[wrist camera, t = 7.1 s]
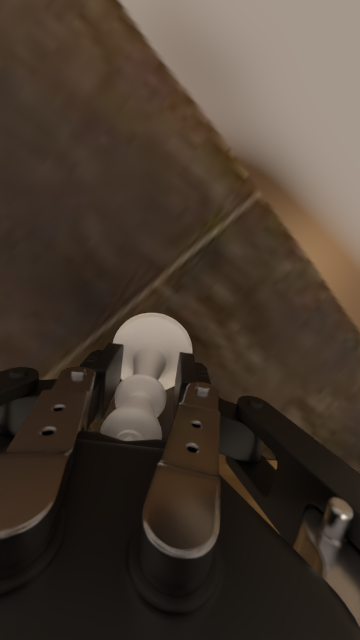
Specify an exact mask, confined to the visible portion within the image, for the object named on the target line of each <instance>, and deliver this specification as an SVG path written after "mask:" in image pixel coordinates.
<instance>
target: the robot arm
mask: <svg viewBox="0 0 360 640" xmlns="http://www.w3.org/2000/svg"><path fill="white" fill-rule="evenodd" d="M123 350H124V345H123V344H117V343H109V344H108V345H107V346H106V348H105V349H104V350H97V351H94V352H92V353H90V355H89V356H88V357H87V358H86V359H85V360H84V361H83V362H82V363H81V364H80V366H79V367H71V368H67V369H65V370H63V371H62V372H61V373H60V375H59V377H58V378H57V379H52V380H39V373H38V371H37V370H35V369H33V368H27V367H18V368H11V369H7V370H4V371H1V372H0V640H360V474H359V473H358V472H357V471H355V470H354V469H353V468H351V467H350V466H349V465H348V464H346V463H345V462H344V461H342V460H341V459H340V458H338V457H337V456H336V455H335V454H333V453H332V452H331V451H329V450H328V449H327V448H326V447H324V446H323V445H322V444H320V443H319V442H318V441H316V440H315V439H314V438H313V437H311V436H310V435H309V434H307V433H306V432H305V431H303V430H302V429H301V428H300V427H298V426H297V425H296V424H294V423H293V422H292V421H291V420H289V419H288V418H287V417H285V416H284V415H283V414H281V413H280V412H279V411H278V410H276V409H275V408H274V407H272V406H271V405H270V404H269V403H267V402H266V401H264V400H262V399H260V398H257V397H253V396H242V397H240V398H239V399H238V401H237V404H234V403H231V402H228V401H225V400H223V399H221V398H219V391H218V389H217V388H216V387H214V386H212V385H211V382H210V379H209V375H208V372H207V368H206V367H205V366H204V365H203V364H202V363H195V362H194V357H193V354H191V353H184V352H180V353H179V359H178V365H177V372H176V378H175V386H174V421H173V424H172V427H171V430H170V433H169V436H168V439H167V440H159V439H152V440H136V441H124V440H120V439H117V438H114V437H111V436H107V435H104V434H101V433H98V432H91V425H92V422H93V420H94V419H95V420H102V419H103V417H104V415H105V412H106V410H107V408H108V406H109V404H110V402H111V399H112V397H113V395H114V393H115V391H116V388H117V386H118V384H119V381H120V377H121V370H122V360H123ZM264 444H265V445H266V446H267V447H268V448H270V449H271V450H272V452H273V453H274V455H275V457H276V460H277V469H275V468H274V467H273V466H272V465H271V464H270V463H269V462H268V461H267V460H266V459H265V458H264V456H263V455H262V451H263V447H264ZM219 454H222V455H225V456H226V457H225V460H226V463H227V465H228V466H229V468H230V469H231V470H232V471H233V473H234V474H235V475H236V477H237V478H238V479H239V481H240V482H241V483H242V485H243V486H244V487H245V489H246V490H247V491H248V493H249V494H250V495H251V497H252V498H253V499H254V501H255V502H256V503H257V505H258V506H259V507H260V508H261V510H262V511H263V512H264V514H265V515H266V516H267V518H268V519H269V520H270V522H271V523H272V524H273V526H274V527H275V528H276V530H277V531H278V532H279V533H278V532H277V531H276V530H275V529H274V528H273V527H272V526H271V525H270V524H269V523H268V522H267V521H266V520H265V519H264V518H263V517H262V516H261V515H260V514H259V513H258V512H257V511H256V510H255V509H254V508H253V507H252V506H251V505H250V504H249V503H248V502H247V501H246V500H245V499H244V498H243V497H242V496H241V495H240V494H239V493H238V492H237V491H236V490H235V489H234V488H233V487H232V486H231V485H230V484H229V483H228V482H227V481H226V480H225V479H224V478H223V477H222V476H221V475H220V474H219Z"/></svg>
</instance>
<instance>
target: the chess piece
mask: <svg viewBox="0 0 360 640" xmlns="http://www.w3.org/2000/svg"><path fill="white" fill-rule="evenodd" d="M113 343H117V344H123V345H124V350H123V360H122V370H121V377H120V378H121V379H122V381H121V382H120V383H119V385H118V386H117V388H116V391H115V397H114V398H115V405H116V408H117V409H115V410H114V411H113V412H112V413H110V414H109V415H108V416H107V418H106V419H105V420H104V422H103V423H102V426H101V428H100V433H101V434H104V435H107V436H111V437H114V438H117V439H120V440H124V441H136V440H152V439H159V440H162V430H161V426H160V423H159V421H158V419H157V417H158V416H159V415H160V414H161V413H162V411H163V410H164V408H165V406H166V401H167V395H166V391H165V390H167V389H169V388H171V387H173V386H175V378H176V372H177V365H178V359H179V353H180V352H184V353H191V354H192V353H193V350H192V343H191V340H190V337H189V335H188V333H187V331H186V330H185V329H184V327H183V326H182V325H181V324H180V323H179V322H177V321H176V320H175V319H173V318H171V317H169V316H167V315H164V314H160V313H143V314H139V315H136V316H134V317H132V318H130V319H129V320H127V321H126V322H125V323H124V324H123V325H122V326H121V327H120V328H119V329H118V331H117V333H116V335H115V337H114V340H113Z"/></svg>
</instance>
